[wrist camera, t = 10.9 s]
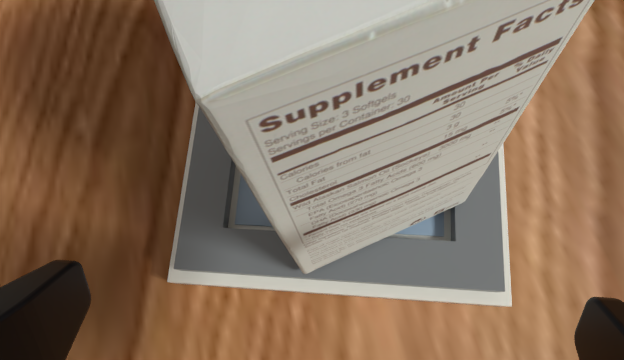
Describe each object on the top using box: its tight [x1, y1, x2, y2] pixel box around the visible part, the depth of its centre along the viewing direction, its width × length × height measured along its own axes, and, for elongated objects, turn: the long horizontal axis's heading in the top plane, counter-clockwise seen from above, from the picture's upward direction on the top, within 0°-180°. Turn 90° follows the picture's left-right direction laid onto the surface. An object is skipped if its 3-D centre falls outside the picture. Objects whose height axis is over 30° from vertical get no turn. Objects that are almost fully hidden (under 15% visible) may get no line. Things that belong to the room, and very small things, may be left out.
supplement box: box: [154, 0, 594, 274], centre depth 13 cm, size 7×7×13 cm
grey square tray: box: [167, 103, 512, 307], centre depth 20 cm, size 14×14×2 cm
